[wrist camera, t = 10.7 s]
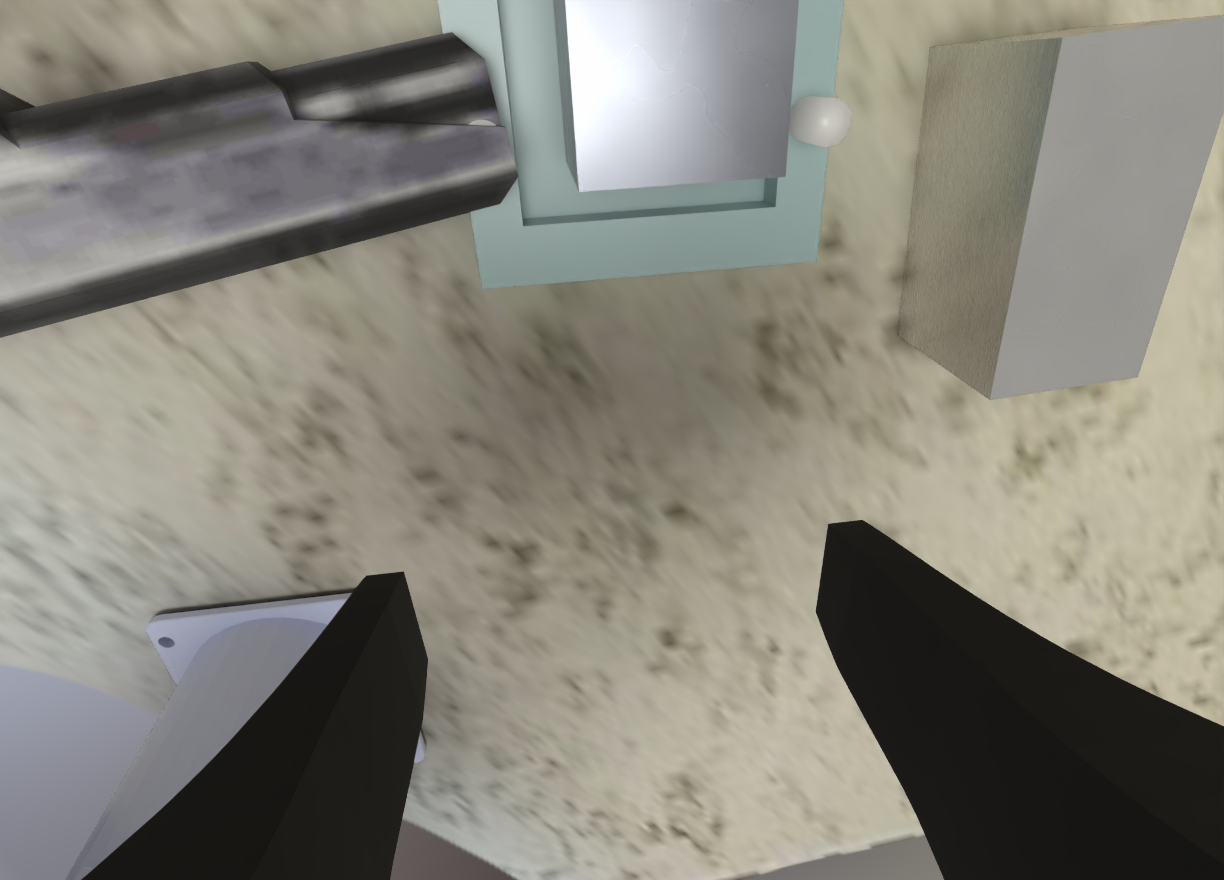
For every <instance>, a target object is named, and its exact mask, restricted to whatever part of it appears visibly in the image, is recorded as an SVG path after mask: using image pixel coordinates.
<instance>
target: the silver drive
mask: <svg viewBox="0 0 1224 880" xmlns="http://www.w3.org/2000/svg"><path fill="white" fill-rule="evenodd" d="M1223 111H1224V15H1217V16H1205V17H1194V18H1183V19H1171V20H1160V21H1149V22H1138V23H1126V24H1115V25H1104V26H1092V27H1081V28H1072V29H1064V30H1057V31H1049V32H1041V33H1034V34H1026V35H1019V36H1011V37H1003V38H996V39H988V40H981V41H973V42H965V43H958V44H950V45H943V46H935V47H930V50H929V59H928V68H927V77H926V85H925V94H924V103H923V111H922V120H921V129H920V138H919V146H918V155H917V164H916V172H915V181H914V190H913V199H912V207H911V216H910V225H909V233H908V242H907V251H906V260H905V268H904V277H903V286H902V294H901V303H900V312H899V321H898V329H897V335H898V336H900V337H901V338H902V339H904V340H905V341H907V342H908V343H909V344H911V345H912V346H914V347H915V348H917V349H918V350H919V351H921V352H922V353H924V354H925V355H927V356H928V357H929V358H931V359H932V360H934V361H935V362H936V363H938V364H939V365H941V366H942V367H944V368H945V369H946V370H948V371H949V372H951V373H952V374H954V375H955V376H956V377H958V378H959V379H961V380H962V381H963V382H965V383H966V384H968V385H969V386H971V387H972V388H973V389H975V390H976V391H978V392H979V393H981V394H982V395H983V396H985V397H986V398H988V399H989V400H993V399H1000V398H1006V397H1013V396H1019V395H1026V394H1032V393H1039V392H1045V391H1051V390H1058V389H1064V388H1071V387H1077V386H1084V385H1090V384H1097V383H1103V382H1110V381H1116V380H1123V379H1129V378H1135V377H1138V375H1139V372H1140V369H1141V366H1142V363H1143V359H1144V356H1145V353H1146V350H1147V347H1148V344H1149V341H1150V338H1151V335H1152V331H1153V328H1154V325H1155V322H1156V319H1157V316H1158V313H1159V310H1160V307H1161V304H1162V300H1163V297H1164V294H1165V291H1166V288H1167V285H1168V282H1169V279H1170V276H1171V273H1172V269H1173V266H1174V263H1175V260H1176V257H1177V254H1178V251H1179V248H1180V245H1181V241H1182V238H1183V235H1184V232H1185V229H1186V226H1187V223H1188V220H1189V217H1190V214H1191V210H1192V207H1193V204H1194V201H1195V198H1196V195H1197V192H1198V189H1199V186H1200V183H1201V179H1202V176H1203V173H1204V170H1205V167H1206V164H1207V161H1208V158H1209V155H1210V152H1211V148H1212V145H1213V142H1214V139H1215V136H1216V133H1217V130H1218V127H1219V124H1220V120H1221V117H1222V114H1223Z"/></svg>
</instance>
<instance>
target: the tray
mask: <svg viewBox="0 0 1224 880" xmlns="http://www.w3.org/2000/svg"><path fill="white" fill-rule="evenodd" d="M843 4H844V0H799V6H798V19H797V32H796V45H795V59H794V72H793V85H792V98H791V111H790V124H789V138H788V151H787V164H786V177H778V178H764V179H750V180H737V181H723V182H709V183H695V184H682V185H668V186H654V187H641V188H627V189H613V190H599V191H586V192H579V191H578V189H577V186H576V184H575V181H574V179H573V177H572V174H571V172H570V170H569V167H568V165H567V163H566V156H565V143H564V131H563V119H562V106H561V94H560V81H559V69H558V57H557V44H556V32H555V19H554V7H553V0H438V7H439V13H440V20H441V26H442V33H443V34H445V33H449V32H453V33H454V34H455V35H456V36H457V37H459V38H460V39H461V40H462V41H463V42H465V43H466V44H467V45H468V46H470V47H471V48H472V49H473V50H474V51H476V52H477V53H478V54H479V55H480V56H482V57H483V58H484V59H485V63H486V67H487V71H488V74H489V78H490V82H491V86H492V90H493V94H494V98H495V102H496V106H497V110H498V114H499V118H500V121H501V125H502V126H504V127H506V129H507V133H508V137H509V141H510V145H511V149H512V153H513V157H514V161H515V165H516V169H517V173H518V178H517V179H516V181H515V182H514V184H513V185H512V187H511V189H510V190H509V192H508V193H507V195H506V196H505V198H504V199H503V201H502V202H501V204H498V205H494V206H491V207H487V208H483V209H480V210H476V211H472V212H470V214H471V221H472V227H473V234H474V240H475V247H476V253H477V260H478V266H479V273H480V279H481V286H482V289H491V288H503V287H515V286H527V285H539V284H551V283H564V282H576V281H588V280H600V279H612V278H624V277H636V276H648V275H660V274H672V273H684V272H697V271H709V270H721V269H733V268H745V267H757V266H769V265H781V264H793V263H805V262H817V253H818V244H819V234H820V224H821V215H822V205H823V196H824V186H825V177H826V167H827V157H828V148H829V147H831V146H834V145H836V144H838V143H839V142H841V141H842V140H843V139H844V138H845V136H846V135H847V133H848V131H849V129H850V126H851V121H852V115H851V111H850V108H849V106H848V105H847V103H846V102H844V101H843V100H841V99H839V98H834V90H835V81H836V71H837V62H838V52H839V43H840V33H841V23H842V14H843ZM468 125H483V126H496V124H494V123H492V122H490V121H487V120H476V121H473V122H471V123H469V124H468Z"/></svg>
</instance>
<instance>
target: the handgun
mask: <svg viewBox="0 0 1224 880" xmlns="http://www.w3.org/2000/svg"><path fill="white" fill-rule="evenodd" d="M476 120H487V121H490V122H492V123H494V124H496V126H483V125H468V124H469V123H471V122H473V121H476ZM517 178H518V173H517V169H516V165H515V161H514V157H513V153H512V149H511V145H510V141H509V137H508V133H507V129H506V127H504V126H502V125H501V121H500V118H499V114H498V110H497V106H496V102H495V98H494V94H493V90H492V86H491V82H490V78H489V74H488V71H487V67H486V63H485V59H484V58H483V57H482V56H480V55H479V54H478V53H477V52H476V51H474V50H473V49H472V48H471V47H470V46H468V45H467V44H466V43H465V42H463V41H462V40H461V39H460V38H459V37H457V36H456V35H455V34H454V33H453V32H449V33H445V34H440V35H436V36H431V37H426V38H422V39H417V40H413V41H408V42H404V43H399V44H395V45H390V46H385V47H381V48H376V49H372V50H367V51H363V52H358V53H354V54H349V55H345V56H340V57H335V58H331V59H326V60H322V61H317V62H313V63H308V64H304V65H299V66H294V67H290V68H285V69H281V70H276V71H272V72H271V71H270V70H268V69H267V68H265V67H264V66H262V65H261V64H259V63H258V62H243V63H238V64H233V65H229V66H224V67H220V68H215V69H210V70H206V71H201V72H196V73H192V74H187V75H183V76H178V77H173V78H169V79H164V80H159V81H155V82H150V83H146V84H141V85H136V86H132V87H127V88H122V89H118V90H113V91H109V92H104V93H99V94H95V95H90V96H85V97H81V98H76V99H71V100H67V101H62V102H58V103H53V104H48V105H44V106H39V107H35V106H33V105H31V104H29V103H27V102H25V101H23V100H21V99H19V98H17V97H15V96H13V95H11V94H9V93H8V92H6V91H4V90H2V89H0V338H1V337H4V336H8V335H12V334H16V333H19V332H23V331H27V330H31V329H34V328H38V327H42V326H45V325H49V324H53V323H57V322H60V321H64V320H68V319H72V318H75V317H79V316H83V315H87V314H90V313H94V312H98V311H102V310H105V309H109V308H113V307H117V306H120V305H124V304H128V303H132V302H135V301H139V300H143V299H147V298H150V297H154V296H158V295H161V294H165V293H169V292H173V291H176V290H180V289H184V288H188V287H191V286H195V285H199V284H203V283H206V282H210V281H214V280H218V279H221V278H225V277H229V276H233V275H236V274H240V273H244V272H248V271H251V270H255V269H259V268H262V267H266V266H270V265H274V264H277V263H281V262H285V261H289V260H292V259H296V258H300V257H304V256H307V255H311V254H315V253H319V252H322V251H326V250H330V249H334V248H337V247H341V246H345V245H349V244H352V243H356V242H360V241H364V240H367V239H371V238H375V237H378V236H382V235H386V234H390V233H393V232H397V231H401V230H405V229H408V228H412V227H416V226H420V225H423V224H427V223H431V222H435V221H438V220H442V219H446V218H450V217H453V216H457V215H461V214H465V213H468V212H472V211H476V210H480V209H483V208H487V207H491V206H494V205H498V204H501V202H502V201H503V199H504V198H505V196H506V195H507V193H508V192H509V190H510V189H511V187H512V185H513V184H514V182H515V181H516V179H517Z"/></svg>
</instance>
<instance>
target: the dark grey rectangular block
mask: <svg viewBox="0 0 1224 880" xmlns="http://www.w3.org/2000/svg"><path fill="white" fill-rule="evenodd" d="M798 6H799V0H553V7H554V19H555V32H556V44H557V57H558V69H559V81H560V94H561V106H562V119H563V131H564V143H565V156H566V163H567V165H568V167H569V170H570V172H571V174H572V177H573V179H574V181H575V184H576V186H577V189H578V191H579V192H586V191H599V190H613V189H627V188H641V187H654V186H668V185H682V184H695V183H709V182H723V181H737V180H750V179H764V178H778V177H786V164H787V151H788V138H789V124H790V111H791V98H792V85H793V72H794V59H795V45H796V32H797V19H798Z"/></svg>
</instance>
